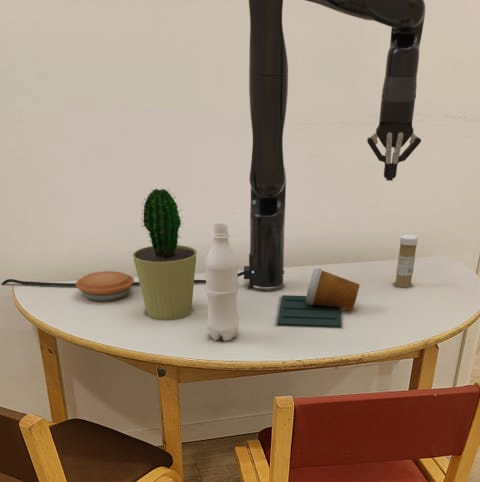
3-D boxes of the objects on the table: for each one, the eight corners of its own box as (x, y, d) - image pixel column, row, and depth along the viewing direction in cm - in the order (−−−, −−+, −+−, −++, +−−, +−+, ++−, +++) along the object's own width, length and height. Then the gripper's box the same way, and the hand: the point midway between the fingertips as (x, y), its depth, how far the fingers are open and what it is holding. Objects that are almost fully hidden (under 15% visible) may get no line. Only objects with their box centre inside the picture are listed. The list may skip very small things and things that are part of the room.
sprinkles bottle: (405, 281, 170) (411, 233, 163) (414, 286, 167) (421, 237, 160) (391, 283, 169) (397, 235, 162) (400, 288, 165) (407, 239, 158)
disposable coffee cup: (358, 286, 155) (313, 275, 156) (363, 271, 146) (315, 260, 147) (349, 320, 154) (304, 309, 155) (354, 308, 144) (305, 296, 146)
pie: (65, 300, 160) (62, 281, 157) (98, 282, 172) (96, 265, 170) (115, 307, 155) (113, 288, 152) (145, 288, 167) (143, 271, 165)
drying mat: (277, 325, 143) (277, 321, 143) (282, 297, 160) (282, 294, 160) (340, 327, 142) (341, 324, 141) (338, 298, 159) (339, 295, 158)
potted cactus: (211, 307, 154) (207, 183, 138) (173, 327, 143) (163, 195, 127) (165, 296, 161) (156, 178, 146) (126, 314, 151) (111, 188, 135)
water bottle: (207, 331, 141) (202, 221, 128) (237, 330, 141) (236, 220, 128) (208, 343, 135) (203, 229, 121) (240, 342, 135) (239, 228, 122)
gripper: (425, 98, 139) (414, 177, 148) (367, 98, 141) (360, 177, 150) (430, 100, 133) (419, 183, 142) (369, 100, 134) (362, 182, 143)
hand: (389, 180), depth 146 cm, fingers closed
